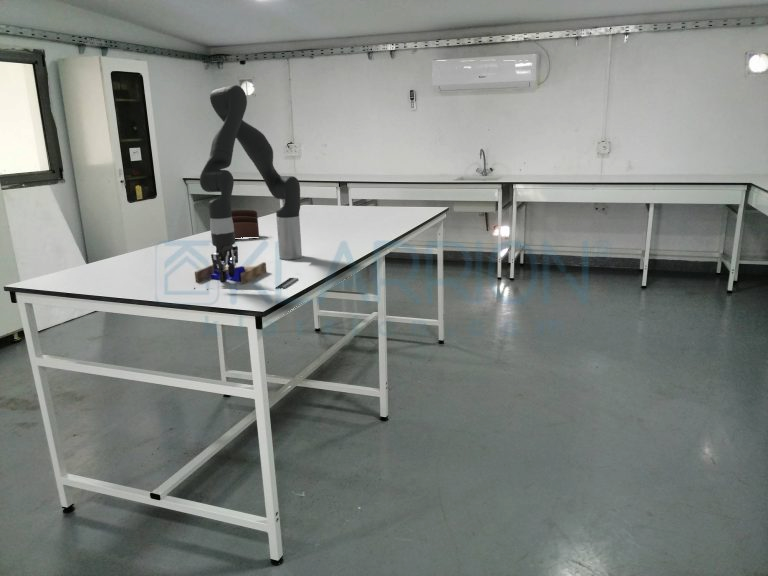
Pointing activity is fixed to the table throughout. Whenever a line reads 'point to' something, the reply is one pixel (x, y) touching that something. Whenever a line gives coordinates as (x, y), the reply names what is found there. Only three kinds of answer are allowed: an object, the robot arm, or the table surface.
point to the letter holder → (245, 223)
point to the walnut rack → (245, 276)
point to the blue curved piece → (235, 278)
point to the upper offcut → (239, 266)
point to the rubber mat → (287, 283)
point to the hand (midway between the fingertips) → (227, 279)
